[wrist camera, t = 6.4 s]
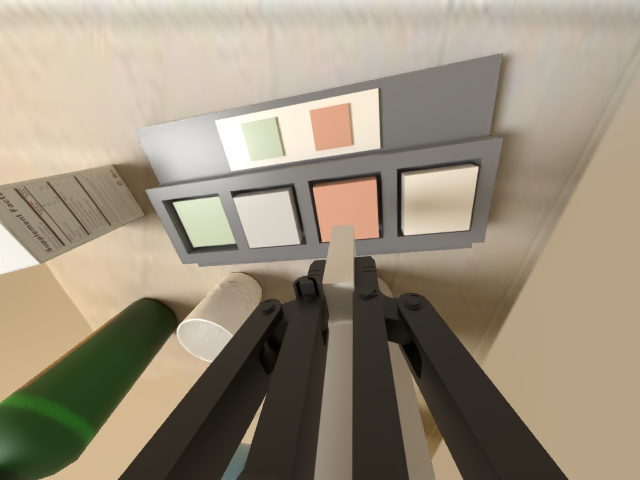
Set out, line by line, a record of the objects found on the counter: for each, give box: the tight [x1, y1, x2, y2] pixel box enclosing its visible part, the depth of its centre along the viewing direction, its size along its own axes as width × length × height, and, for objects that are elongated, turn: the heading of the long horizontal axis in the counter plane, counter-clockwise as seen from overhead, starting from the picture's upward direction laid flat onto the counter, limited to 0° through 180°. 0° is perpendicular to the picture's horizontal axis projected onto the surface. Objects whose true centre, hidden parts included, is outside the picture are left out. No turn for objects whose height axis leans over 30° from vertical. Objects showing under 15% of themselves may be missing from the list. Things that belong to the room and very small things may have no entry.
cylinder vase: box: [314, 276, 435, 480], centre depth 24 cm, size 12×12×25 cm
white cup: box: [177, 273, 262, 362], centre depth 32 cm, size 8×8×10 cm
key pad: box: [134, 53, 504, 267], centre depth 25 cm, size 18×36×4 cm, turn 99°
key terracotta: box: [313, 176, 379, 242], centre depth 23 cm, size 6×6×2 cm
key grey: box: [233, 187, 303, 248], centre depth 25 cm, size 6×6×2 cm
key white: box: [401, 164, 479, 235], centre depth 22 cm, size 6×6×2 cm
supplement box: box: [0, 165, 145, 274], centre depth 26 cm, size 7×7×13 cm
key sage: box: [173, 194, 236, 247], centre depth 28 cm, size 6×6×2 cm
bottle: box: [0, 299, 177, 480], centre depth 30 cm, size 11×11×28 cm
